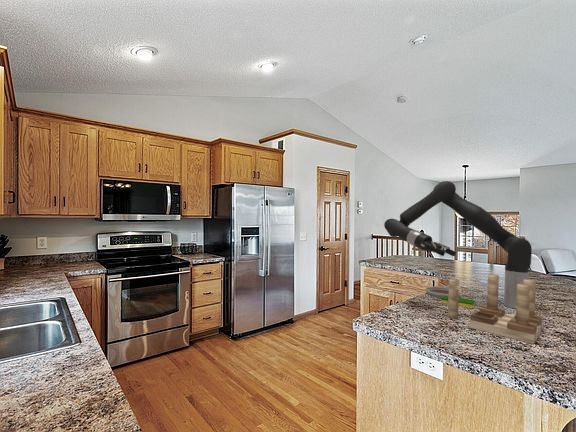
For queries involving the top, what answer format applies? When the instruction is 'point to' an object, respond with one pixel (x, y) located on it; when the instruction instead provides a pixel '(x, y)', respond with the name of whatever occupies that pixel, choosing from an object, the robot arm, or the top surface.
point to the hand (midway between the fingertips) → (449, 254)
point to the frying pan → (438, 291)
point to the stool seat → (511, 326)
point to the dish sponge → (460, 301)
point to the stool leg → (453, 298)
